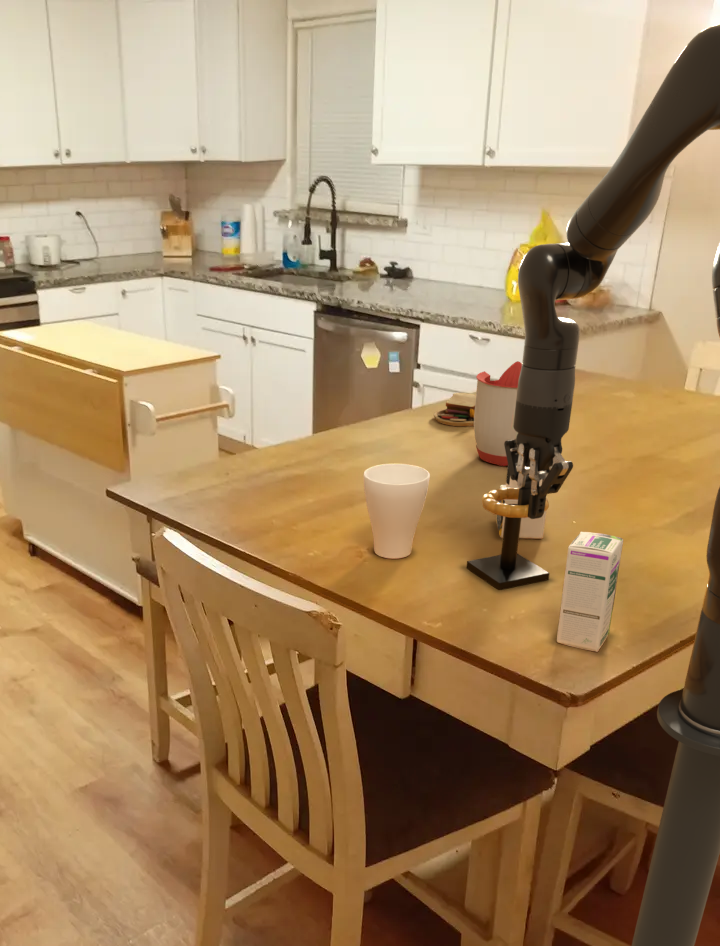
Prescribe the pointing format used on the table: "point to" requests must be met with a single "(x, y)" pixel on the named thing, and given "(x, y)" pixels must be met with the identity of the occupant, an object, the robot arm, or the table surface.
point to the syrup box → (589, 590)
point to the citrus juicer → (495, 414)
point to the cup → (395, 506)
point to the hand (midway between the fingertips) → (530, 514)
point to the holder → (508, 562)
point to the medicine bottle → (528, 525)
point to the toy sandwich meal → (458, 410)
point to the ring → (504, 509)
